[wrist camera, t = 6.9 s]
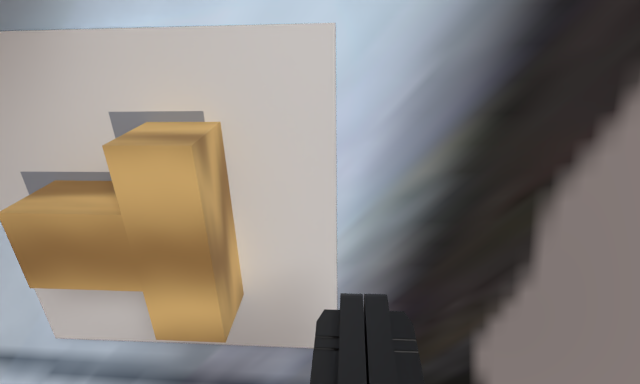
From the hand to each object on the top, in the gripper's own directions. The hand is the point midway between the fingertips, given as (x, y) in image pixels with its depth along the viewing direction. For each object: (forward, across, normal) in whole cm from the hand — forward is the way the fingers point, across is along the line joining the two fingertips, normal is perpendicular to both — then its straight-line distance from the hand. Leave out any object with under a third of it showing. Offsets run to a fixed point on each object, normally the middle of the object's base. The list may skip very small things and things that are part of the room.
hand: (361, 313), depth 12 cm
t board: (+8, +10, +1) cm, 13 cm away
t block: (+7, +11, 0) cm, 13 cm away
